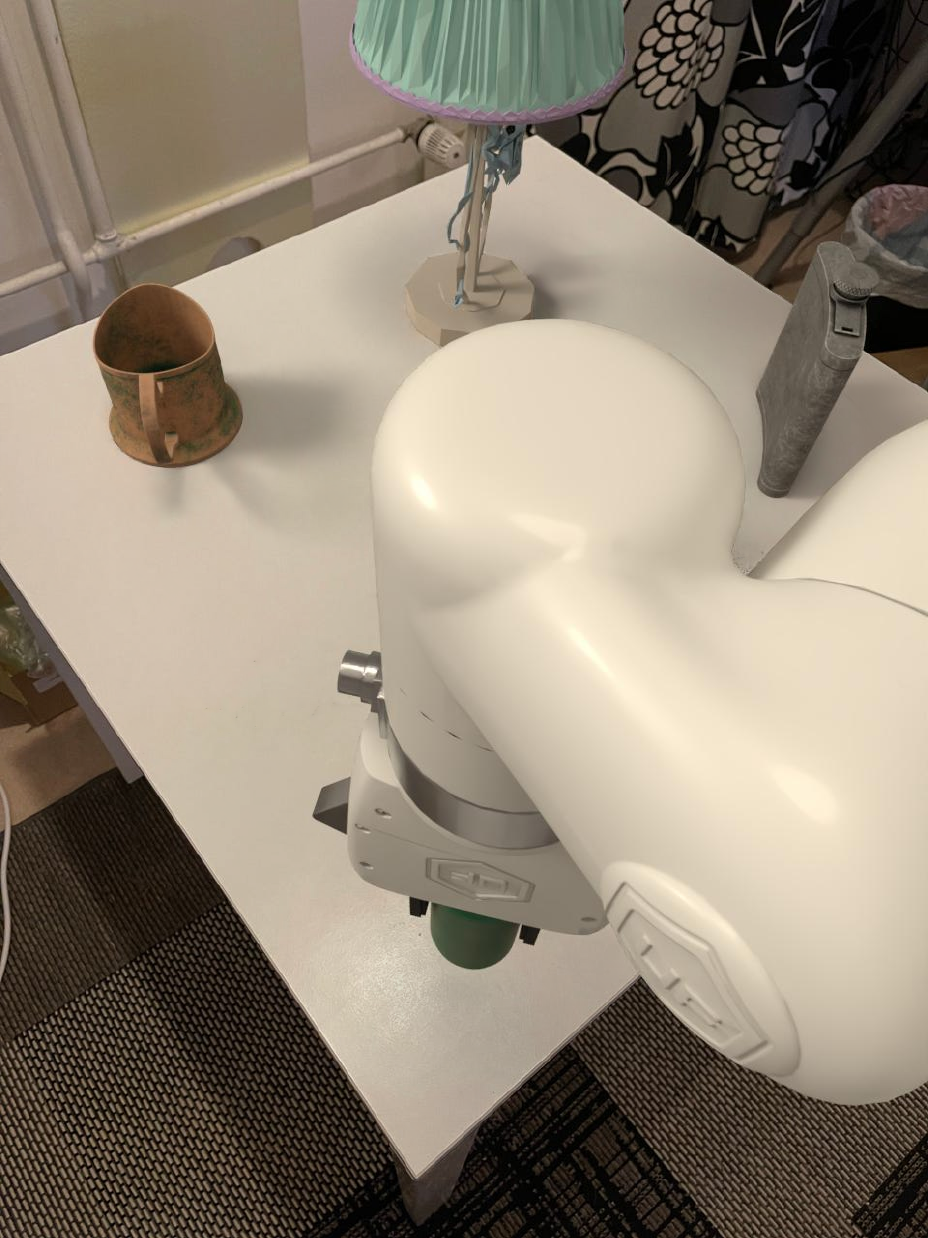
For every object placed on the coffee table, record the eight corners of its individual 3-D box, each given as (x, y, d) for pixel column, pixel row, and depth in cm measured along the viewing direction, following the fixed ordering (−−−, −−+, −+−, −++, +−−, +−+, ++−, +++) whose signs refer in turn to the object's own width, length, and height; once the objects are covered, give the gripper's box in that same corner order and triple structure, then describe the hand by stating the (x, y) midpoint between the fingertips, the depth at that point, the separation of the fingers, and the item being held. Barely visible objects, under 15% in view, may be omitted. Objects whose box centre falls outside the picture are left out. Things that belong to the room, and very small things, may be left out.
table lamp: (556, 403, 86) (653, -115, 52) (333, 357, 88) (289, -173, 54) (592, 263, 97) (690, -235, 64) (394, 225, 99) (389, -280, 66)
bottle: (533, 942, 46) (558, 881, 38) (456, 987, 45) (465, 933, 36) (489, 866, 48) (504, 791, 40) (415, 906, 47) (414, 838, 38)
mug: (109, 529, 75) (63, 424, 65) (110, 379, 84) (70, 267, 74) (252, 512, 77) (229, 407, 67) (238, 367, 86) (215, 256, 76)
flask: (793, 388, 89) (872, 220, 74) (798, 501, 81) (889, 338, 66) (755, 383, 89) (826, 213, 74) (757, 494, 81) (837, 331, 66)
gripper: (194, 766, 26) (277, 934, 41) (793, 909, 25) (649, 1029, 40) (283, 561, 30) (328, 783, 45) (800, 672, 29) (668, 863, 44)
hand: (478, 896), depth 42 cm, fingers closed on bottle, 4 cm apart
